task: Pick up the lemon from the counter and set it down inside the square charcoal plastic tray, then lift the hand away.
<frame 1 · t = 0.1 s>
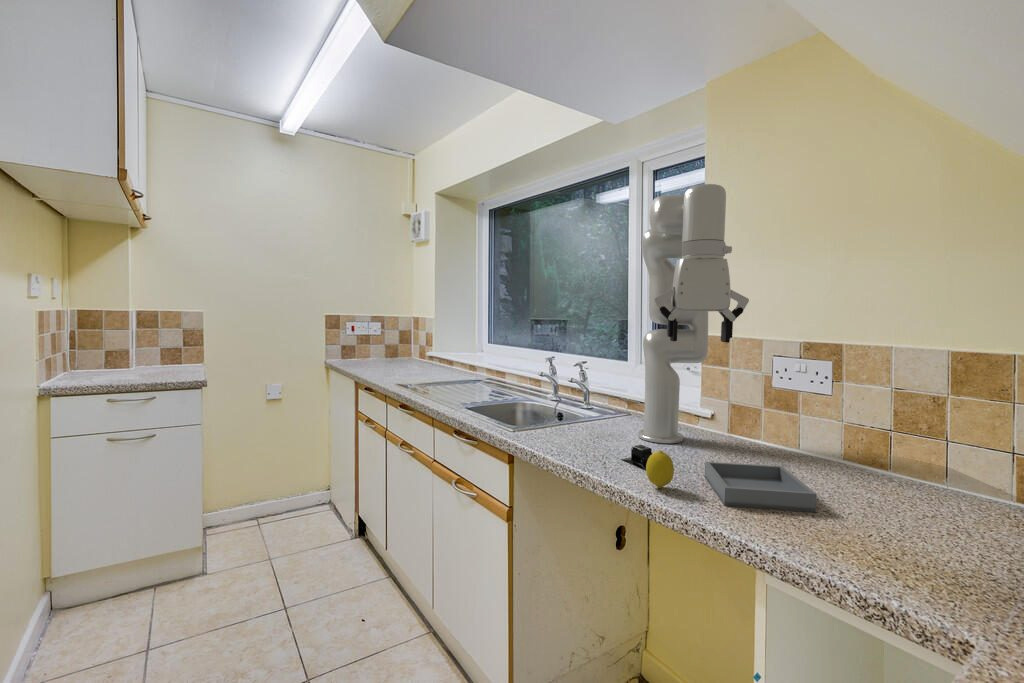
hand: (699, 341, 93), 31 cm above the countertop, tool pointing down, fingers open, 9 cm apart
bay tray: (754, 493, 98), on the countertop
lemon: (659, 489, 100), on the countertop
black arched block: (641, 466, 116), on the countertop
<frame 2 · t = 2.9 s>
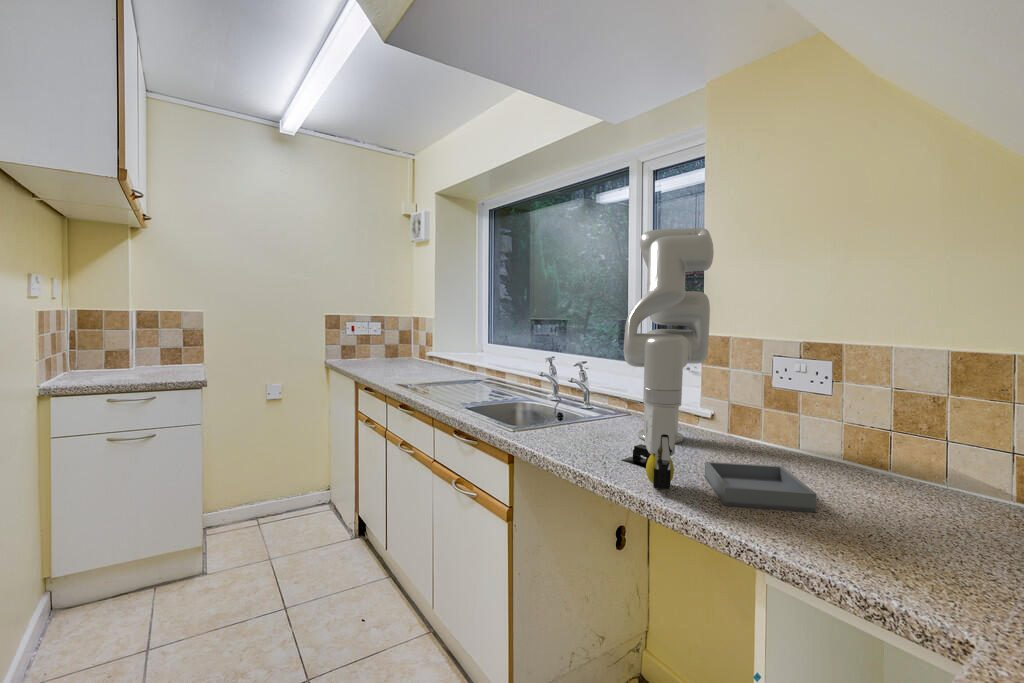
hand: (659, 481, 100), 1 cm above the countertop, tool pointing down, fingers closed on lemon, 5 cm apart
lemon: (659, 489, 100), on the countertop, touching gripper
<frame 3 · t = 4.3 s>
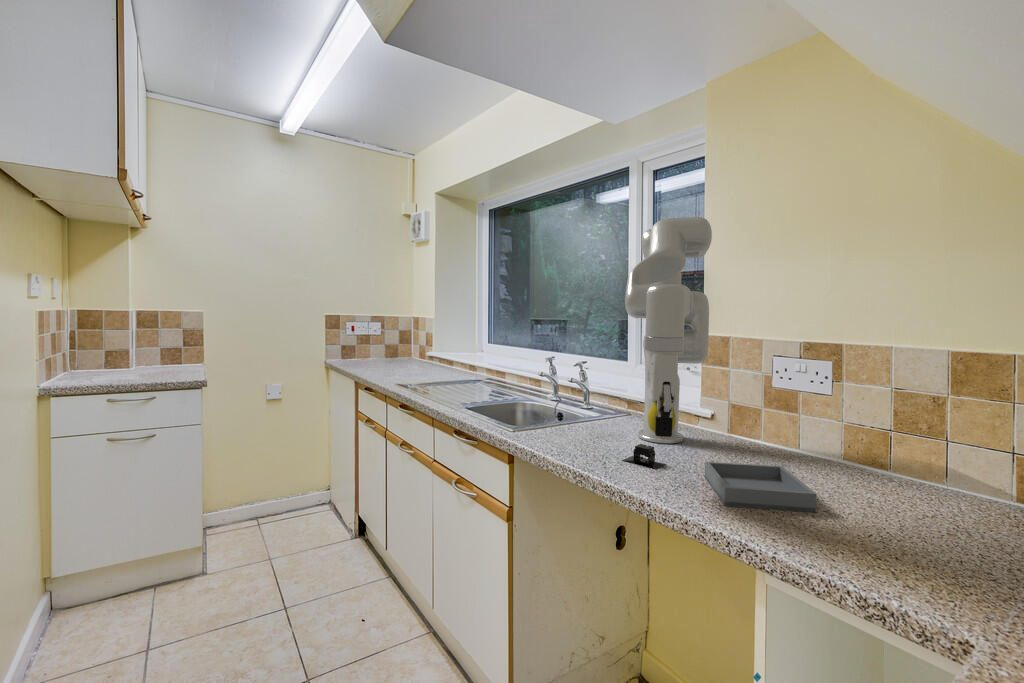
hand: (661, 430, 100), 12 cm above the countertop, tool pointing down, fingers closed on lemon, 5 cm apart
lemon: (660, 438, 100), point 10 cm above the countertop, touching gripper
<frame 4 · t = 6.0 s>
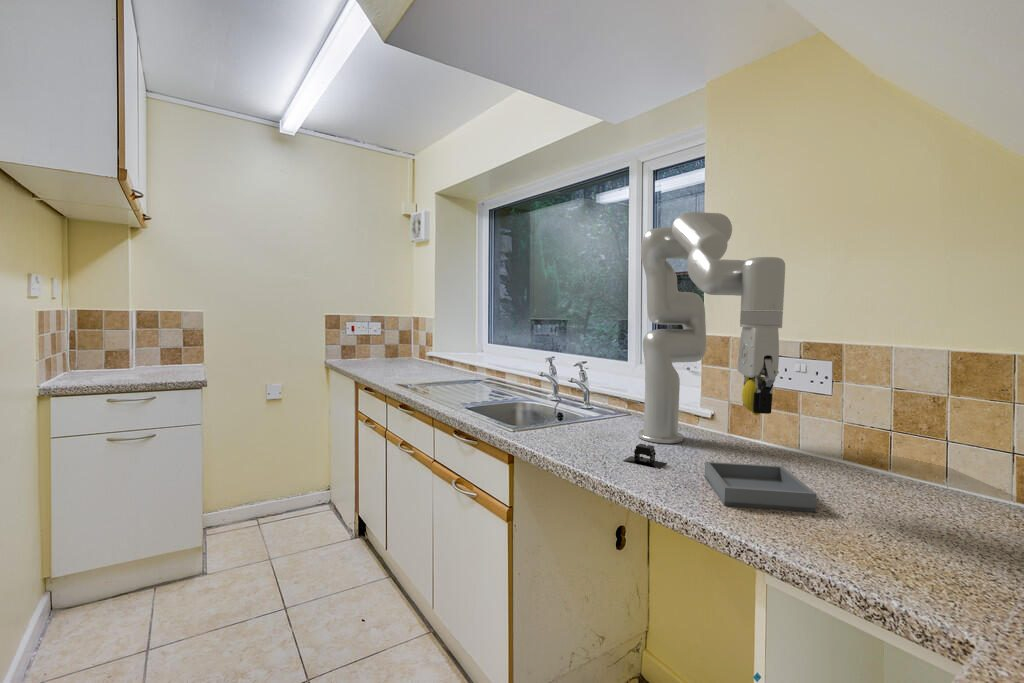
hand: (756, 408, 97), 17 cm above the countertop, tool pointing down, fingers closed on lemon, 5 cm apart
lemon: (756, 416, 97), point 16 cm above the countertop, touching gripper
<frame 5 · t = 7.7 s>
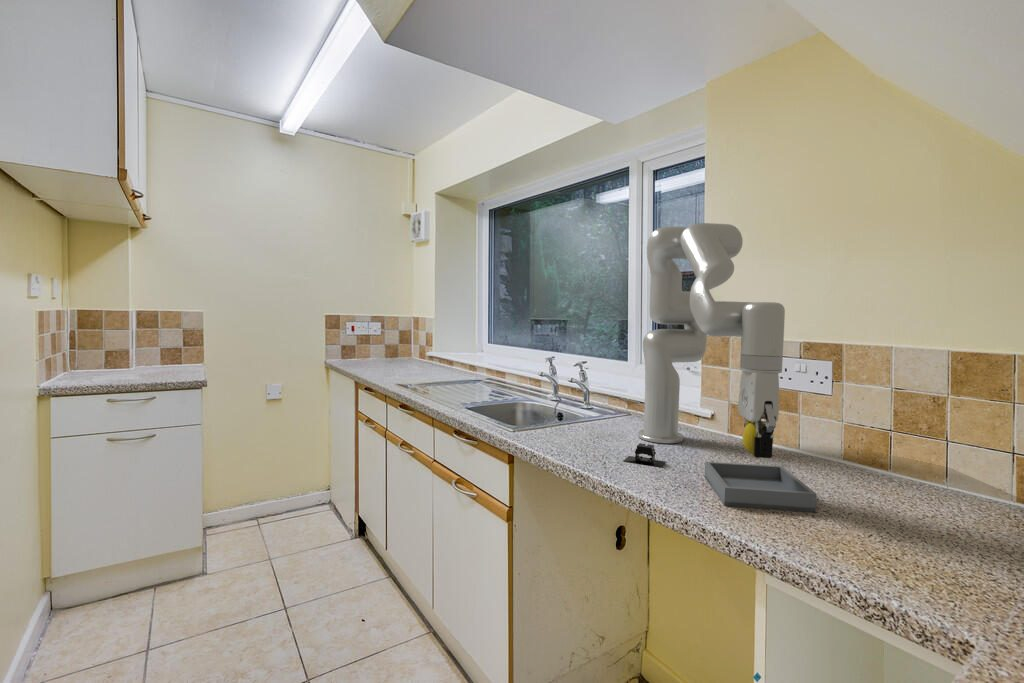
hand: (757, 451, 97), 9 cm above the countertop, tool pointing down, fingers closed on lemon, 5 cm apart
lemon: (756, 459, 98), point 7 cm above the countertop, touching gripper
when the fingers open (4 cm above the countertop, at t = 9.1 s): lemon drops 2 cm, resting on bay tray.
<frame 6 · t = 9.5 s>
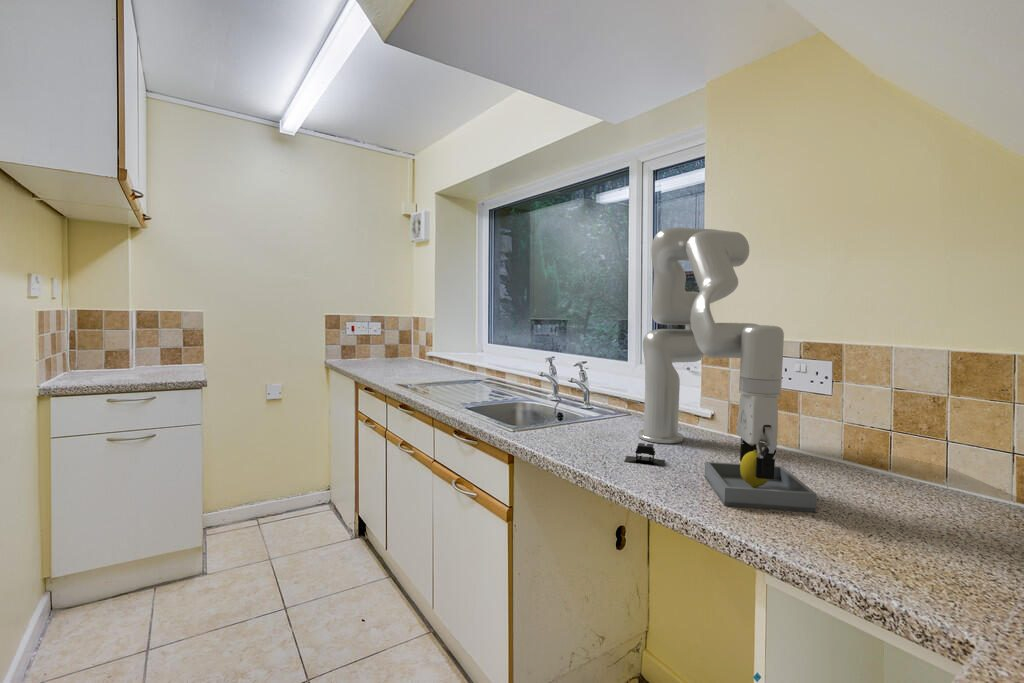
hand: (755, 470, 98), 5 cm above the countertop, tool pointing down, fingers open, 9 cm apart
lemon: (754, 489, 99), point 1 cm above the countertop, touching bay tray
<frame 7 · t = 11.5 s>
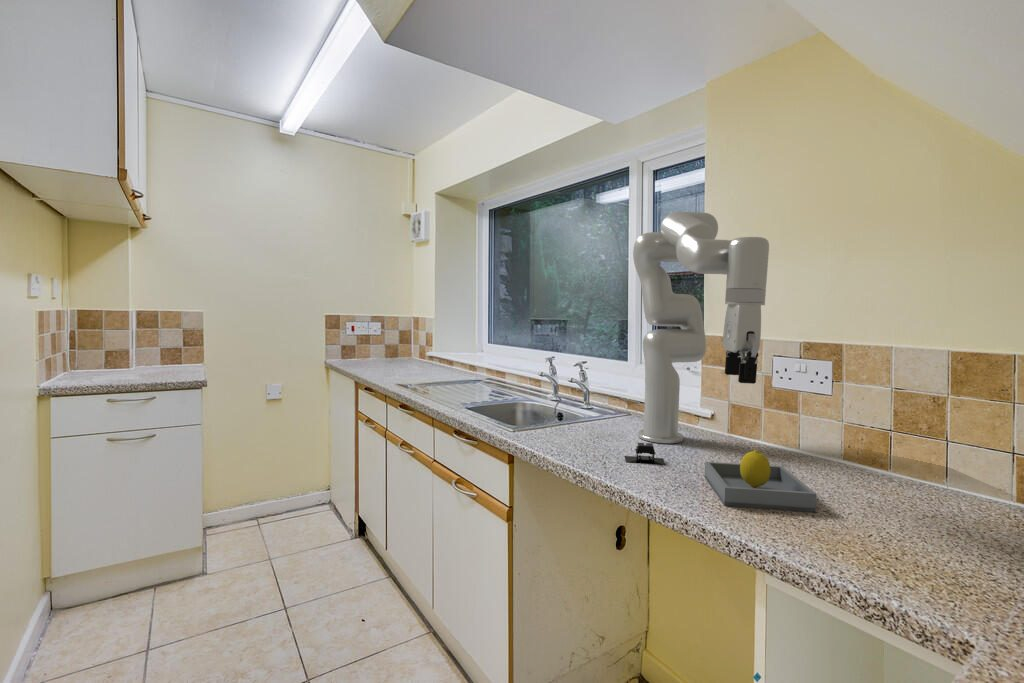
hand: (739, 378, 102), 23 cm above the countertop, tool pointing down, fingers open, 9 cm apart
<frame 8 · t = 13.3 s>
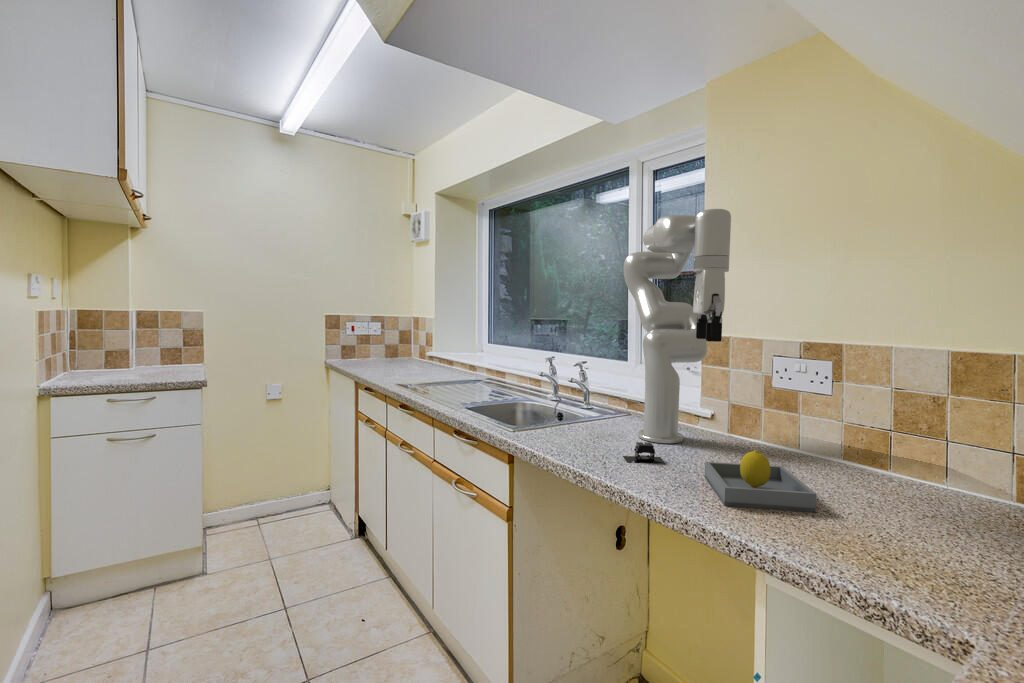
hand: (708, 340, 111), 30 cm above the countertop, tool pointing down, fingers open, 9 cm apart
at the end: lemon inside the target area on the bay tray (0.4 cm from its centre), point 0.6 cm above the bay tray's base; the gripper is holding nothing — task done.
